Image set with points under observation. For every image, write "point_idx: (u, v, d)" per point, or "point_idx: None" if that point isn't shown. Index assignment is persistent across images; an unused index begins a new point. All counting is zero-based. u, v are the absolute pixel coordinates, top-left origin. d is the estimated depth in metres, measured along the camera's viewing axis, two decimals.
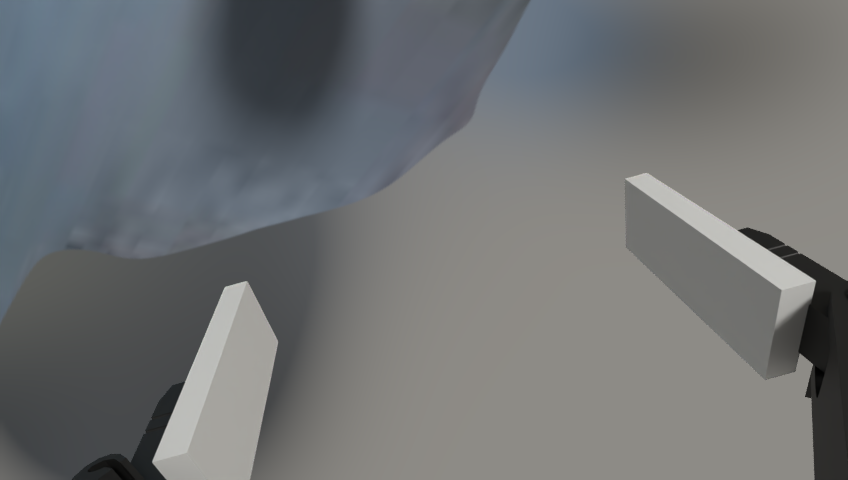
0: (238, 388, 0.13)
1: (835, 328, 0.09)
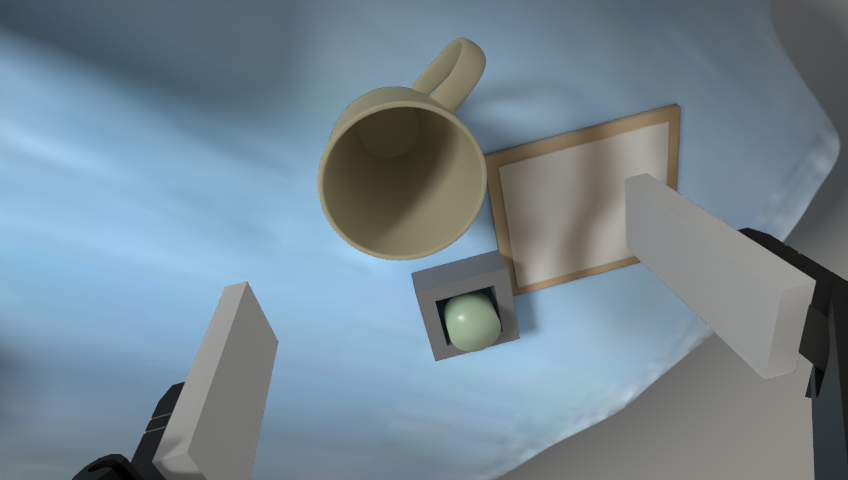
0: (238, 388, 0.13)
1: (835, 328, 0.09)
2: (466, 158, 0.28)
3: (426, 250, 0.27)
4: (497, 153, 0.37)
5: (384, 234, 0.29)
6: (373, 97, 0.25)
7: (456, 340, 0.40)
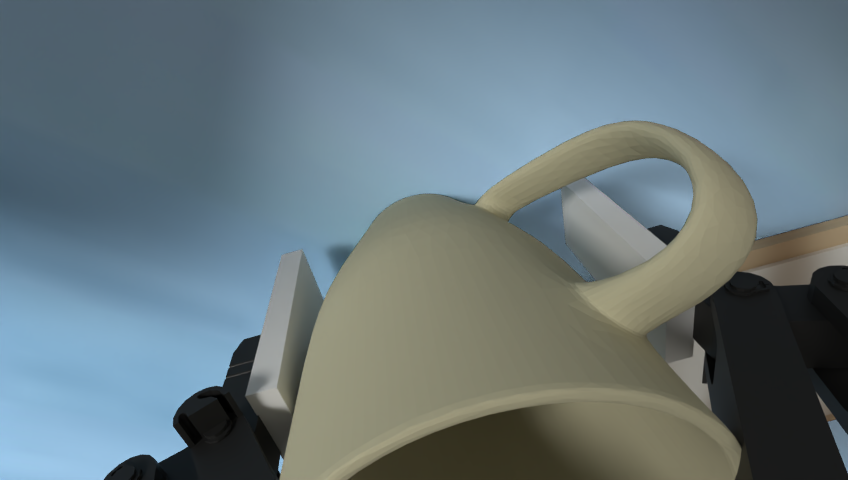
0: (304, 342, 0.14)
1: (718, 319, 0.10)
2: None
3: None
4: None
5: None
6: (422, 301, 0.09)
7: None
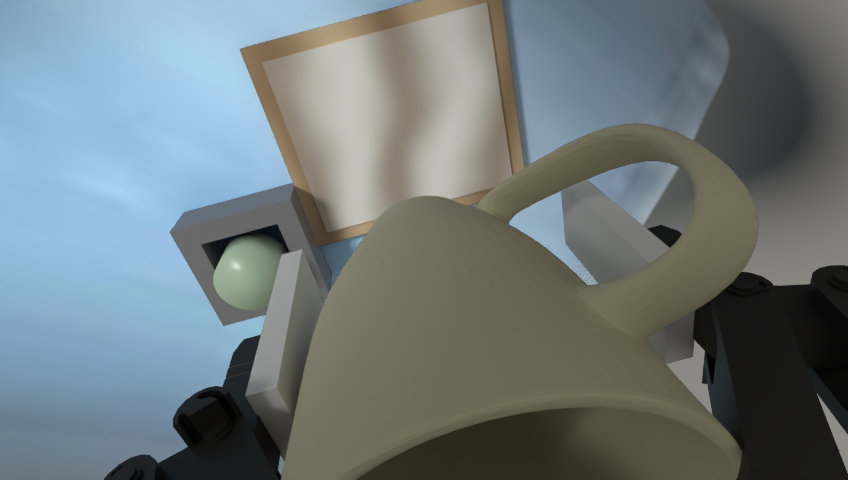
0: (304, 342, 0.14)
1: (718, 319, 0.10)
2: None
3: None
4: (258, 44, 0.28)
5: None
6: (423, 304, 0.09)
7: (226, 294, 0.31)
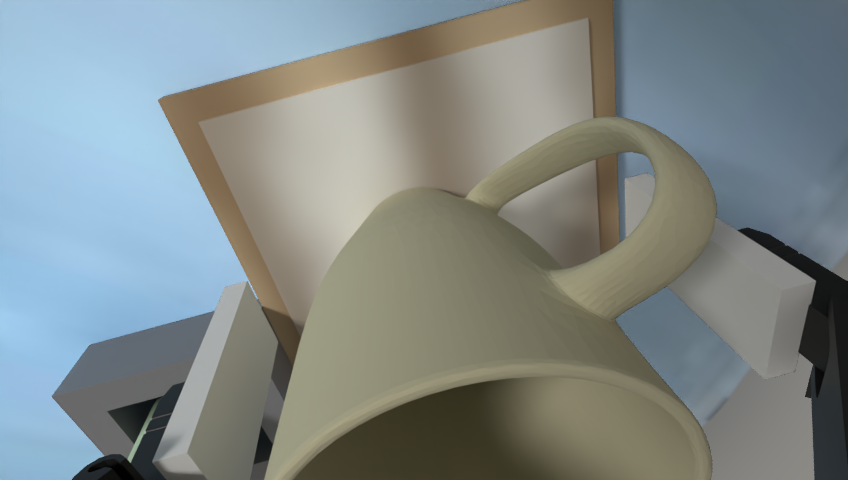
0: (238, 388, 0.13)
1: (835, 328, 0.09)
2: (615, 385, 0.12)
3: None
4: (192, 90, 0.16)
5: None
6: (404, 286, 0.10)
7: None
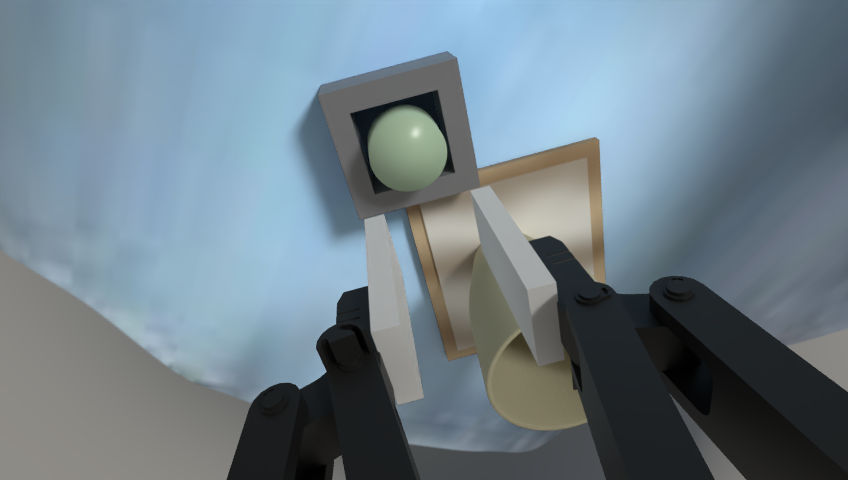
0: (400, 295, 0.15)
1: (576, 331, 0.10)
2: (547, 384, 0.30)
3: (492, 394, 0.25)
4: (598, 154, 0.33)
5: None
6: None
7: (393, 127, 0.26)
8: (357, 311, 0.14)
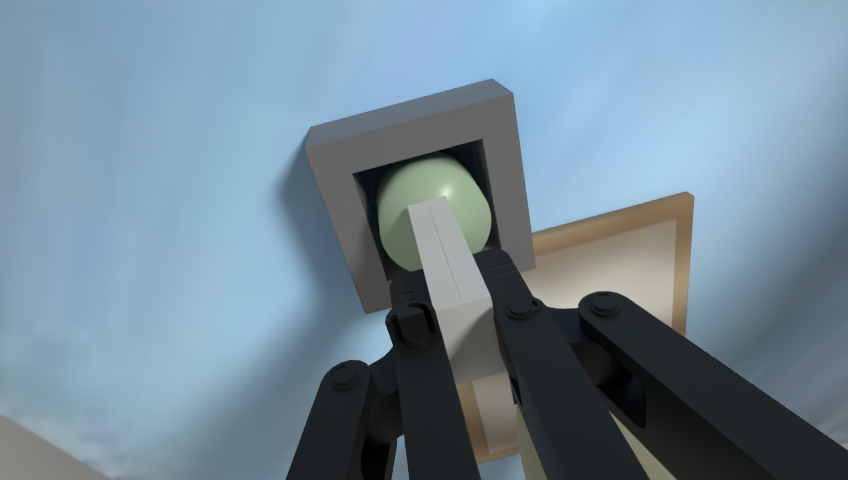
0: None
1: (511, 348, 0.10)
2: None
3: None
4: (690, 214, 0.24)
5: None
6: None
7: (416, 190, 0.18)
8: (411, 293, 0.14)
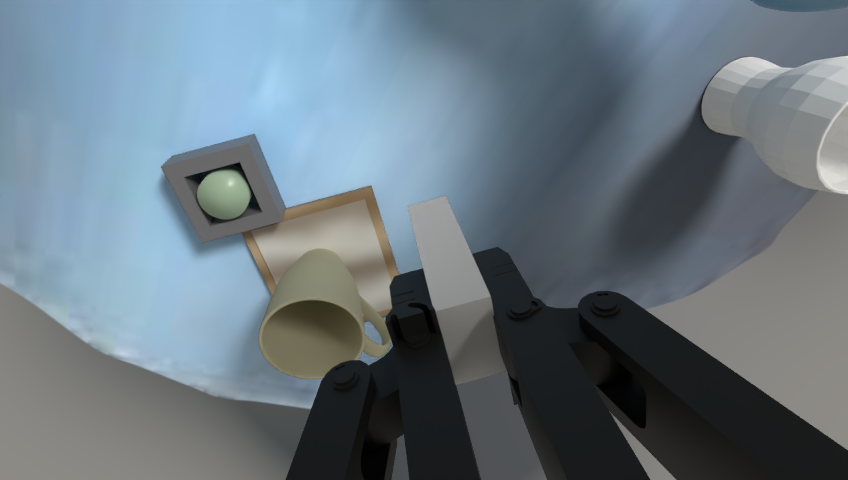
0: None
1: (511, 348, 0.10)
2: (324, 351, 0.45)
3: (267, 354, 0.41)
4: (374, 196, 0.48)
5: None
6: (359, 304, 0.43)
7: (210, 181, 0.42)
8: (411, 293, 0.14)
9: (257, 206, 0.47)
